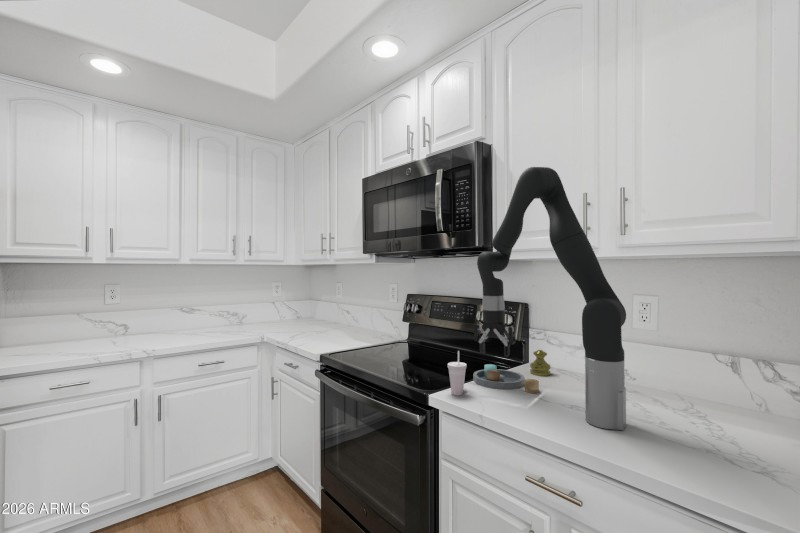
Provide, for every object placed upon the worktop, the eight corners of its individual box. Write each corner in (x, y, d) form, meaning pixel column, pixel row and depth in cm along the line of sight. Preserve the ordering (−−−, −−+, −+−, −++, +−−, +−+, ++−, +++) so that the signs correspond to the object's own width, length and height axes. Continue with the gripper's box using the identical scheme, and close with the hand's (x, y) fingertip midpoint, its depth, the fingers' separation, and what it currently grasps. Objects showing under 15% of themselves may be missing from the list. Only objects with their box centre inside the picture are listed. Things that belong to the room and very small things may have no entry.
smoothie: (461, 398, 119) (461, 354, 120) (443, 394, 123) (443, 351, 123) (470, 392, 125) (470, 350, 125) (453, 389, 128) (453, 348, 129)
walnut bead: (496, 387, 127) (496, 374, 127) (484, 384, 130) (484, 372, 130) (501, 383, 131) (501, 371, 131) (489, 381, 134) (489, 369, 134)
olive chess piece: (526, 373, 147) (526, 348, 148) (545, 373, 148) (545, 348, 148) (534, 379, 140) (534, 352, 140) (554, 378, 141) (554, 352, 141)
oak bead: (540, 393, 124) (540, 380, 124) (536, 397, 120) (536, 383, 120) (527, 391, 126) (527, 378, 126) (522, 394, 123) (522, 381, 123)
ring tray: (531, 382, 136) (531, 374, 136) (514, 395, 122) (513, 386, 122) (485, 374, 147) (485, 366, 147) (464, 385, 132) (464, 376, 132)
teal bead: (498, 377, 139) (498, 365, 139) (493, 380, 135) (493, 367, 135) (487, 375, 142) (487, 363, 142) (482, 378, 138) (482, 366, 138)
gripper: (470, 308, 132) (471, 354, 132) (509, 310, 124) (510, 359, 123) (479, 307, 138) (480, 351, 138) (517, 308, 130) (518, 355, 129)
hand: (494, 355), depth 131 cm, fingers open, 8 cm apart
